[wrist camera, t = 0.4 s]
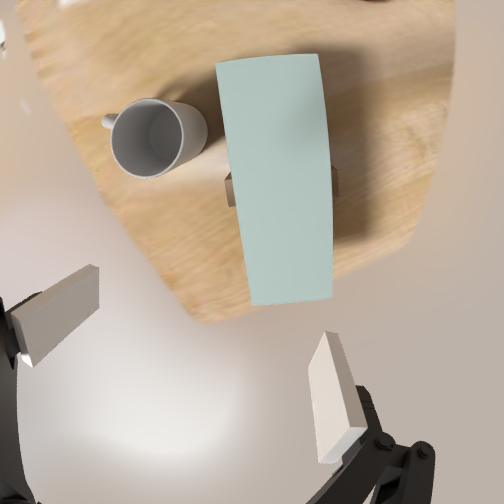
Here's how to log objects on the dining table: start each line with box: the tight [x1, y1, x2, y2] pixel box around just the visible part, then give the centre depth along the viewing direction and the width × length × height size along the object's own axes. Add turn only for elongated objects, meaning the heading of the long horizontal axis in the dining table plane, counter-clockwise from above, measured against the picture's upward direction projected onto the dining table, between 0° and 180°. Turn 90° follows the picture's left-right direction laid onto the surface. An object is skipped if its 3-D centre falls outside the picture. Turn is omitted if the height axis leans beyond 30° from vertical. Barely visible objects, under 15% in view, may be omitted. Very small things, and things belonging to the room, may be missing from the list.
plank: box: [215, 54, 333, 306], centre depth 28 cm, size 28×10×1 cm, turn 7°
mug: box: [102, 98, 208, 179], centre depth 28 cm, size 12×8×11 cm
